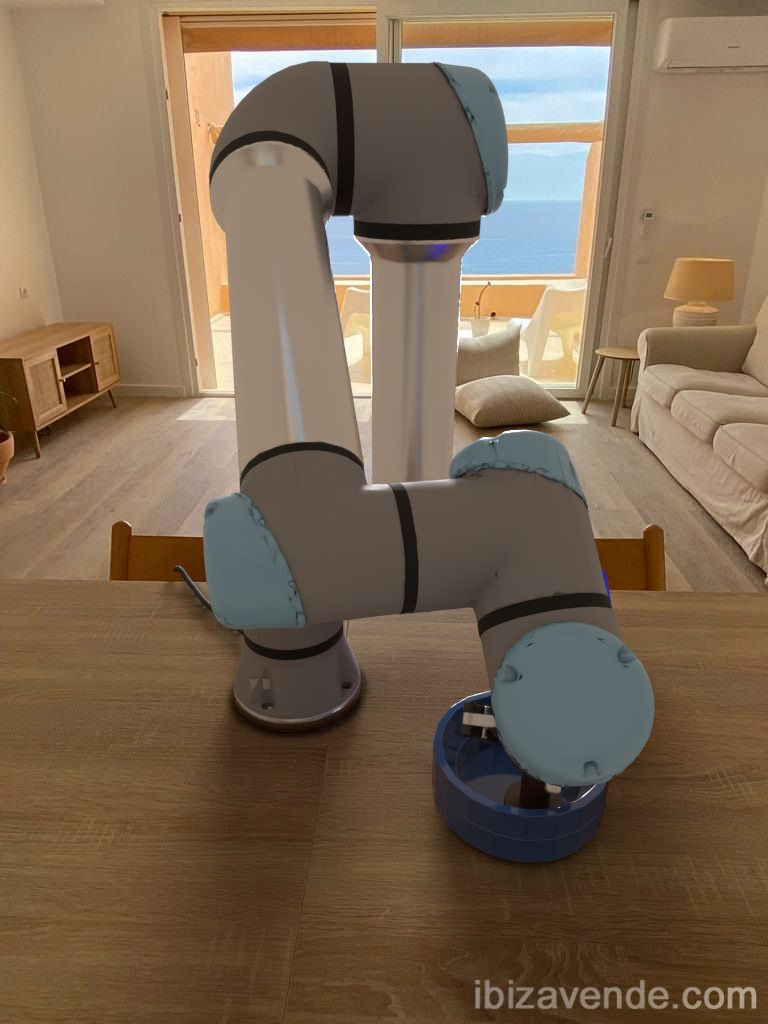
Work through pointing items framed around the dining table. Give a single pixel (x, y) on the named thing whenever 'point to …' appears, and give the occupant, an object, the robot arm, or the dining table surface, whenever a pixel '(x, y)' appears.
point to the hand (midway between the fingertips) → (538, 741)
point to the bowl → (480, 799)
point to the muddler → (531, 795)
